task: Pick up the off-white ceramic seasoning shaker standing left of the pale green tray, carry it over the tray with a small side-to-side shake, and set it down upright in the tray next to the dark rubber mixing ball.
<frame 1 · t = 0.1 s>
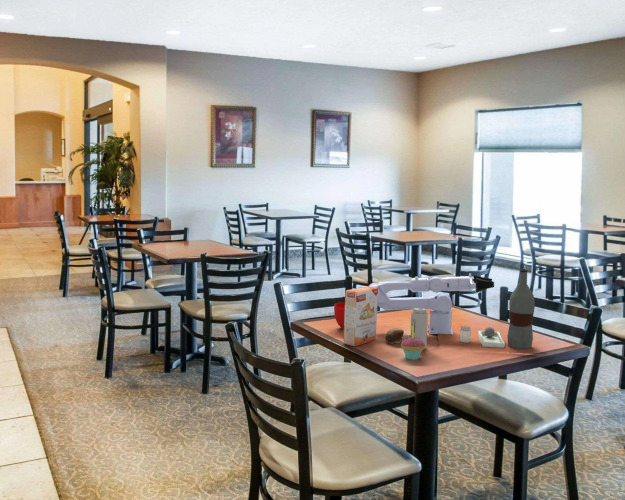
hand: (493, 282, 261), 22 cm above the table, tool horizontal, fingers open, 7 cm apart
ceramic cup: (352, 328, 273), on the table
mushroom: (394, 343, 250), on the table
bottle: (519, 348, 246), on the table
energy drink can: (418, 348, 243), on the table
ball: (489, 337, 258), point 1 cm above the table, touching tray
shaker: (465, 342, 252), on the table
cupcake: (412, 358, 231), on the table
cracker box: (360, 342, 250), on the table
tray: (490, 342, 253), on the table
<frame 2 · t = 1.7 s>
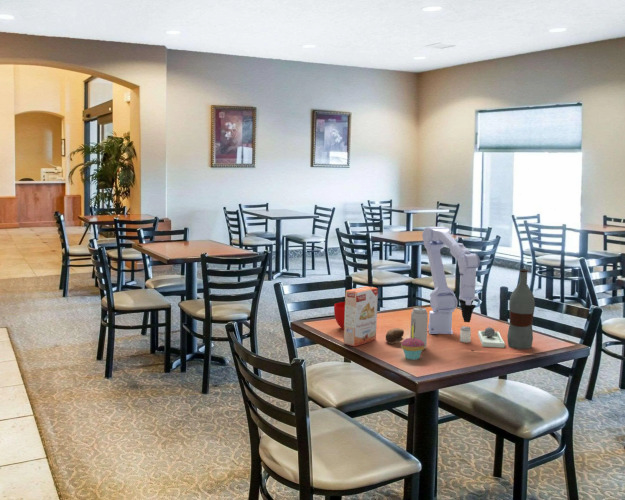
hand: (466, 319, 251), 9 cm above the table, tool pointing down, fingers open, 7 cm apart
nothing on the table moved.
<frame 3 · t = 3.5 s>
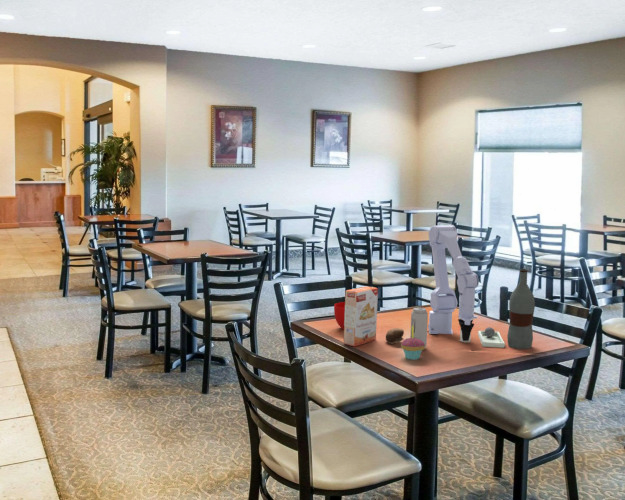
hand: (465, 339, 252), 1 cm above the table, tool pointing down, fingers closed on shaker, 4 cm apart
shaker: (465, 342, 252), on the table, touching gripper
everything else where it was.
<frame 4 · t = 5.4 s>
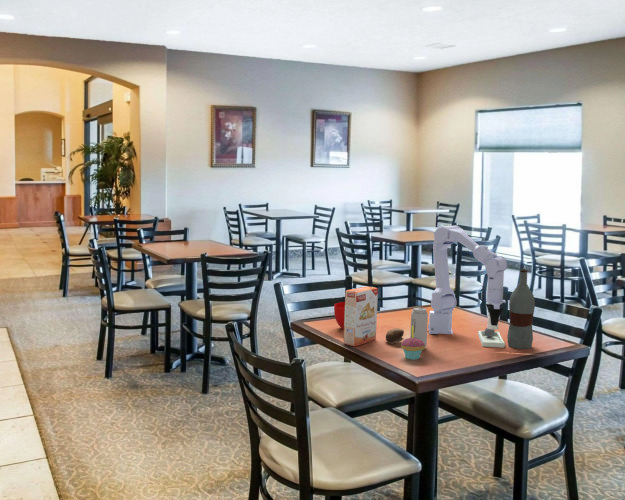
hand: (493, 323, 247), 8 cm above the table, tool pointing down, fingers closed on shaker, 4 cm apart
shaker: (492, 328, 248), point 7 cm above the table, touching gripper
everything else where it was.
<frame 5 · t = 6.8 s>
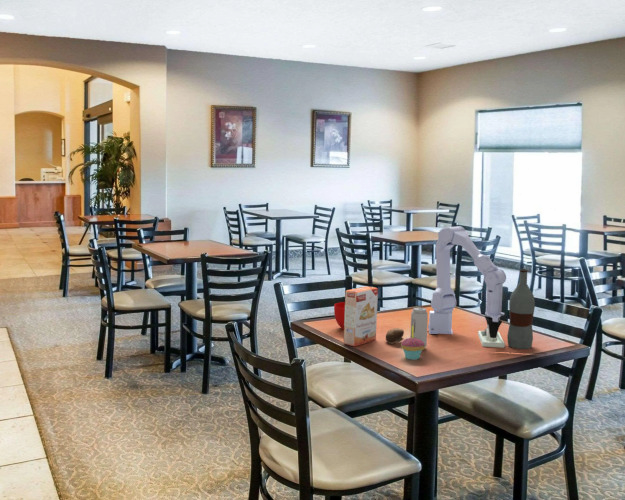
hand: (492, 336, 249), 3 cm above the table, tool pointing down, fingers closed on shaker, 4 cm apart
shaker: (491, 340, 249), point 2 cm above the table, touching gripper
everything else where it was.
when the fingers open (3 cm above the table, at t = 7.6 s): shaker stays where it is, resting on tray.
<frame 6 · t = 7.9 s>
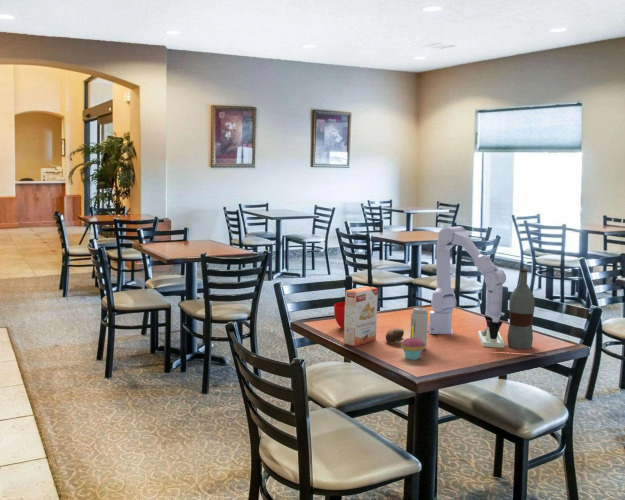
hand: (492, 336, 249), 3 cm above the table, tool pointing down, fingers open, 6 cm apart
shaker: (491, 343, 250), point 1 cm above the table, touching tray
everything else where it was.
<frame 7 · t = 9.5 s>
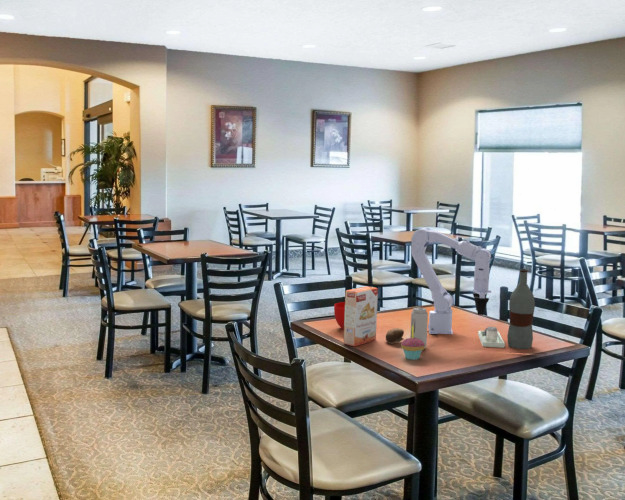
hand: (479, 312, 260), 10 cm above the table, tool pointing down, fingers open, 7 cm apart
nothing on the table moved.
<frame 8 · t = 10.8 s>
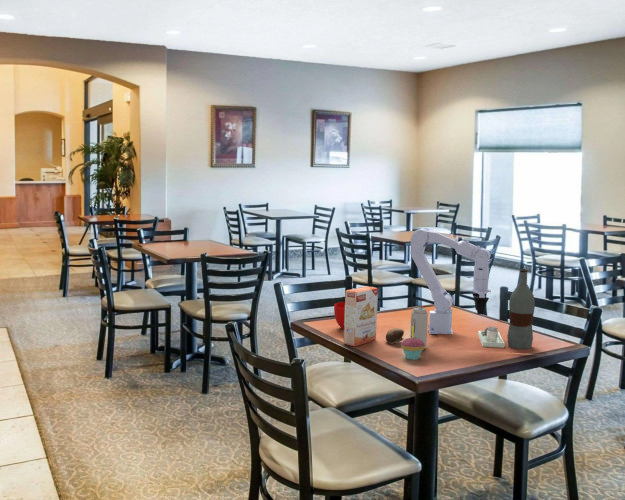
hand: (479, 312, 261), 10 cm above the table, tool pointing down, fingers open, 7 cm apart
nothing on the table moved.
at the end: shaker inside the target area on the tray (3.5 cm from its centre), point 0.6 cm above the tray's base; shaker tilted 1°; the gripper is holding nothing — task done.
